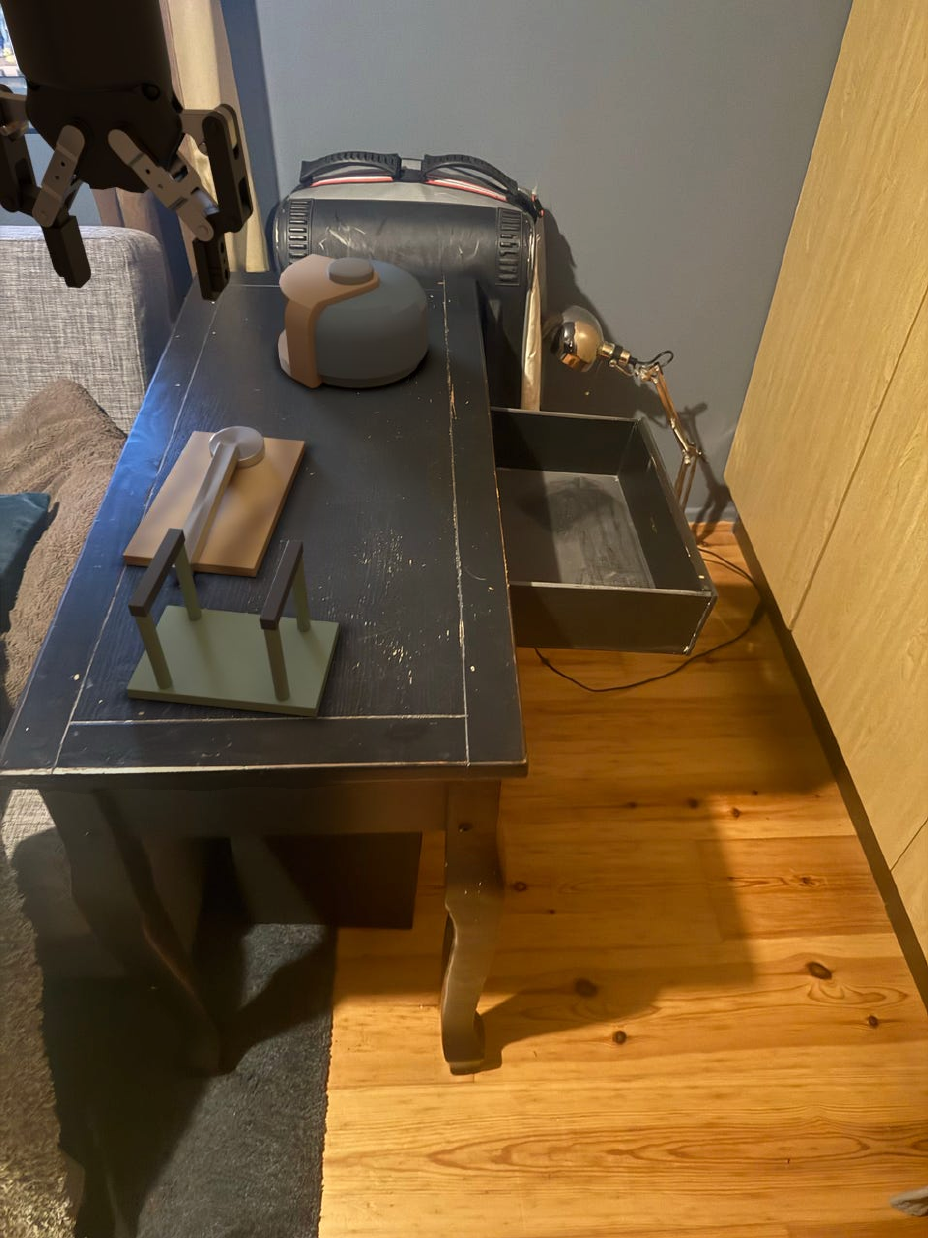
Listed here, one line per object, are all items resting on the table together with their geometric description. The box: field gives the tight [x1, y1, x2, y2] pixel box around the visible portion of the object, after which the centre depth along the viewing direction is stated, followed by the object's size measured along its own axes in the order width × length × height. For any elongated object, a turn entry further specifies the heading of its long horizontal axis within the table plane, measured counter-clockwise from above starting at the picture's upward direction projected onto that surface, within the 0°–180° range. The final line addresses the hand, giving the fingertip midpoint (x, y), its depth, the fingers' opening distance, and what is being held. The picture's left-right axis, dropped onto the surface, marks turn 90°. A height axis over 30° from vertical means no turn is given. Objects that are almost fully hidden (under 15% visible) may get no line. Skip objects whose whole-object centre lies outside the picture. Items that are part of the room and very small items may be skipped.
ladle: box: [168, 425, 265, 579], centre depth 85 cm, size 24×6×3 cm, turn 176°
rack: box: [125, 528, 340, 718], centre depth 68 cm, size 16×10×11 cm, turn 85°
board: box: [122, 430, 307, 578], centre depth 87 cm, size 13×22×1 cm, turn 175°
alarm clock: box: [277, 253, 430, 389], centre depth 107 cm, size 19×20×12 cm
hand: (147, 289), depth 51 cm, fingers open, 8 cm apart
